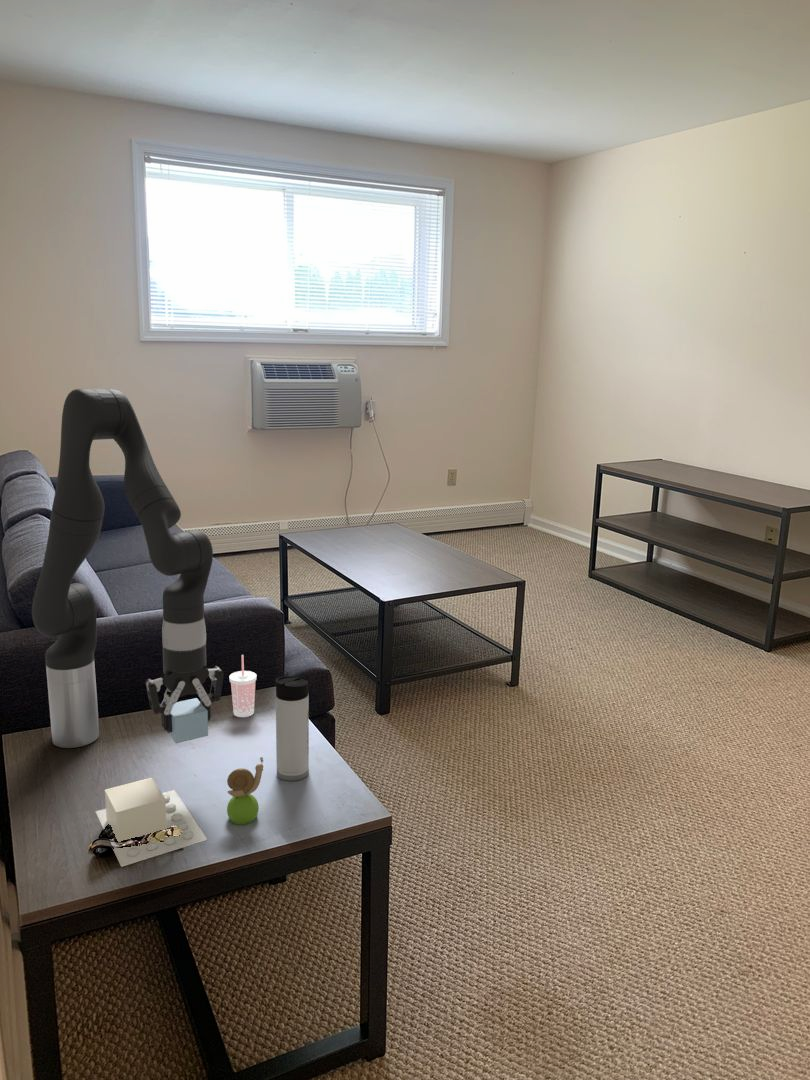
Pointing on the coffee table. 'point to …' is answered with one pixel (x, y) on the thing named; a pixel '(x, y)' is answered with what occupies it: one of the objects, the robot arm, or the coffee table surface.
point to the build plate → (174, 816)
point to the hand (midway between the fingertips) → (186, 726)
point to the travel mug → (292, 728)
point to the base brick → (135, 809)
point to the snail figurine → (243, 794)
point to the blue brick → (189, 720)
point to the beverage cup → (243, 691)
